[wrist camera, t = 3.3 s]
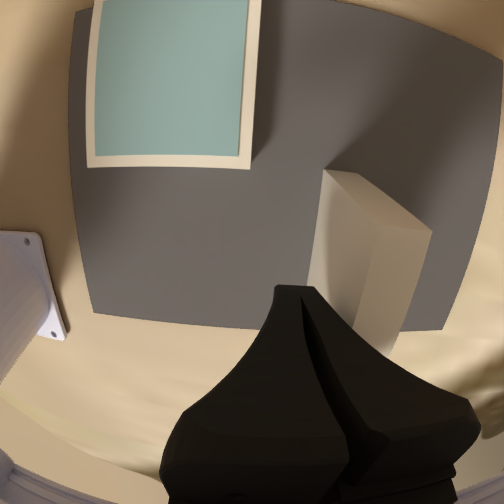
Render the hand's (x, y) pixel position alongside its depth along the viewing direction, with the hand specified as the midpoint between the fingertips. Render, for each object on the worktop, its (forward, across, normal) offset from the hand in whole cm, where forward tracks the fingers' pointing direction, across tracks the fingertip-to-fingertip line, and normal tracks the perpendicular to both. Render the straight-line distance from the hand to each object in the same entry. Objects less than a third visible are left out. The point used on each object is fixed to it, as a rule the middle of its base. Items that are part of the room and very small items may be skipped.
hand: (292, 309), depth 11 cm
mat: (+5, 0, -4) cm, 6 cm away
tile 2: (+5, -2, 0) cm, 5 cm away
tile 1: (+5, +5, -8) cm, 11 cm away
